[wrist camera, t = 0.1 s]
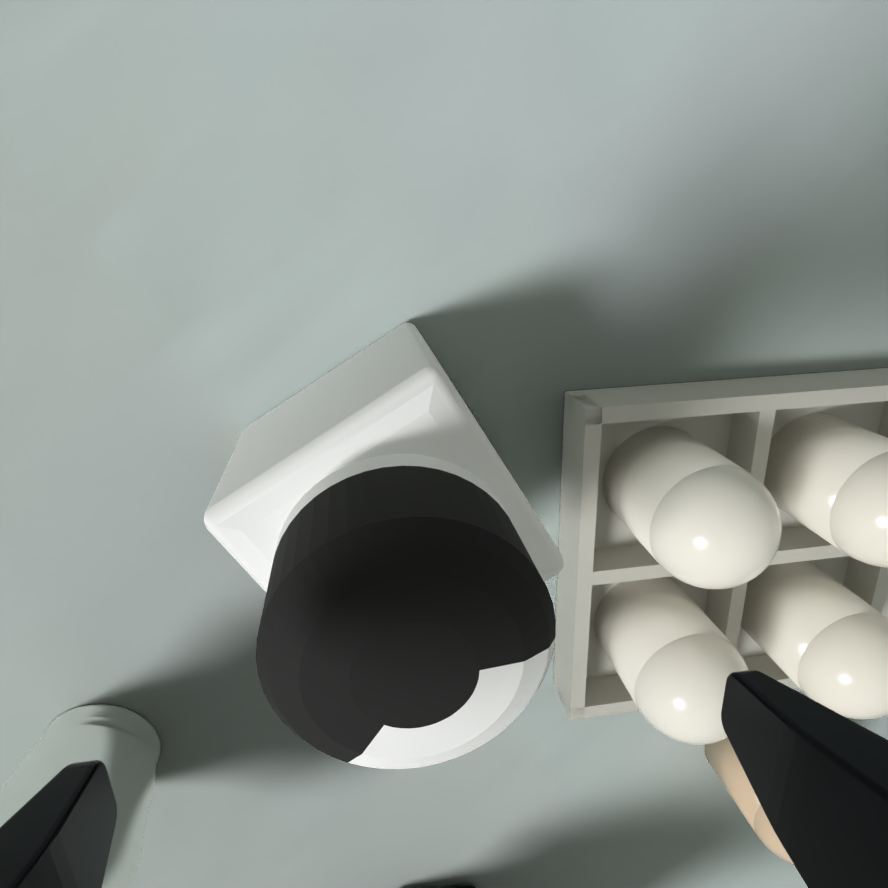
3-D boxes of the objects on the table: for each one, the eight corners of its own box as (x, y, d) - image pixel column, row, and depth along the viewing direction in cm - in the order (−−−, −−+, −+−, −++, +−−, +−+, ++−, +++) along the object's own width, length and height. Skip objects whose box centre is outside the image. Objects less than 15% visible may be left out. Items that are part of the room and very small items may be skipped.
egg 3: (843, 504, 26) (980, 585, 20) (750, 513, 26) (865, 599, 20) (863, 408, 25) (1018, 467, 19) (766, 417, 24) (895, 480, 18)
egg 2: (681, 650, 28) (768, 762, 22) (591, 662, 27) (656, 780, 21) (692, 568, 26) (788, 666, 20) (596, 579, 26) (667, 683, 20)
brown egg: (776, 765, 32) (868, 883, 26) (700, 777, 32) (777, 900, 26) (789, 700, 31) (890, 811, 25) (710, 712, 30) (794, 828, 24)
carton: (949, 630, 30) (993, 659, 28) (553, 683, 28) (570, 720, 26) (1033, 357, 26) (1093, 369, 24) (564, 391, 23) (586, 408, 21)
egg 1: (698, 519, 25) (799, 607, 20) (599, 529, 25) (674, 623, 19) (710, 421, 24) (824, 486, 18) (605, 430, 23) (689, 500, 18)
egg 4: (815, 632, 28) (932, 737, 23) (730, 643, 28) (828, 753, 22) (833, 552, 27) (962, 642, 21) (742, 562, 26) (851, 657, 21)
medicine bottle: (239, 428, 22) (131, 653, 11) (409, 316, 21) (479, 429, 10) (356, 569, 24) (365, 867, 13) (509, 472, 24) (652, 696, 13)
